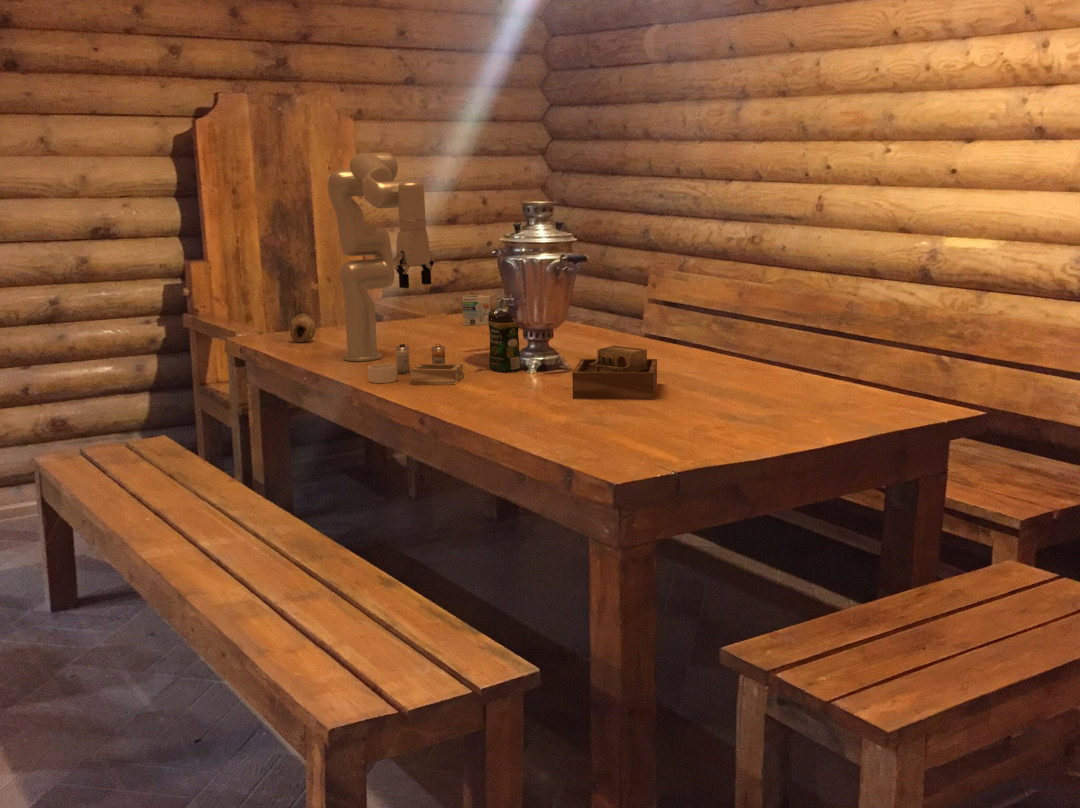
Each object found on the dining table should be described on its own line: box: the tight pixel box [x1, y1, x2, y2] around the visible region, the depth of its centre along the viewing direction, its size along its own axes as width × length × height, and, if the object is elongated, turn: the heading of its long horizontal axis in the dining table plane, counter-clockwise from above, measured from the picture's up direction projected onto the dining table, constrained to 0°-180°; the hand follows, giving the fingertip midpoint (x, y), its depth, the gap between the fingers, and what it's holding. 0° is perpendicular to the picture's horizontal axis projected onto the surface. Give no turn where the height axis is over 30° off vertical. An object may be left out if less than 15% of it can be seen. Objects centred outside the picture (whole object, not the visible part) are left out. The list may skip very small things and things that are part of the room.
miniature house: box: [586, 345, 649, 372], centre depth 315 cm, size 15×14×11 cm
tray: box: [409, 363, 464, 386], centre depth 335 cm, size 12×13×4 cm
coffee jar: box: [488, 308, 521, 373], centre depth 347 cm, size 10×8×19 cm
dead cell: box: [395, 343, 411, 375], centre depth 347 cm, size 4×4×9 cm
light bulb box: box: [462, 294, 491, 326], centre depth 440 cm, size 11×7×11 cm, turn 95°
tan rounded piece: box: [289, 313, 317, 344], centre depth 407 cm, size 9×8×10 cm
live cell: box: [430, 343, 447, 364], centre depth 345 cm, size 4×4×9 cm
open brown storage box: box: [572, 358, 658, 400], centre depth 315 cm, size 20×21×7 cm
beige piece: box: [367, 362, 398, 384], centre depth 336 cm, size 8×8×4 cm
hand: (415, 286), depth 333 cm, fingers open, 9 cm apart
